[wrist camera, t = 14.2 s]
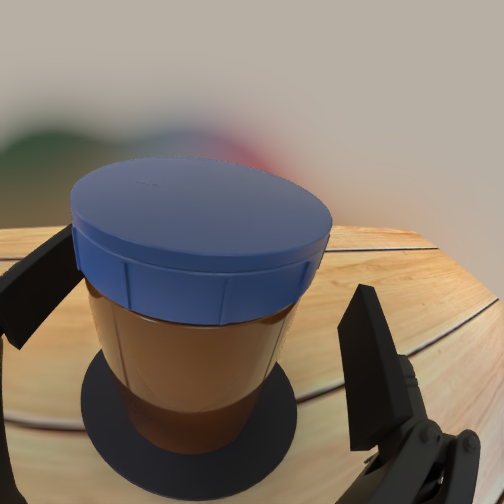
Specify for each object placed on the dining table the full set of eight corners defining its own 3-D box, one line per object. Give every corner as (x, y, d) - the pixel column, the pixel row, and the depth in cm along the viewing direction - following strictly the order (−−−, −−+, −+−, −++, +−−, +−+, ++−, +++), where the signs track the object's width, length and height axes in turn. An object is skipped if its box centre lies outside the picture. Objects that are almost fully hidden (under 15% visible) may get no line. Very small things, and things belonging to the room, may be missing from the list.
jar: (249, 353, 18) (295, 185, 12) (255, 458, 11) (362, 291, 5) (137, 338, 17) (129, 162, 11) (110, 439, 10) (22, 243, 4)
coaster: (280, 333, 21) (282, 328, 20) (308, 498, 9) (312, 497, 9) (114, 311, 19) (113, 305, 19) (61, 468, 8) (57, 465, 7)
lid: (292, 211, 13) (302, 175, 12) (346, 340, 6) (378, 278, 5) (128, 187, 12) (130, 150, 11) (28, 289, 5) (11, 223, 4)
